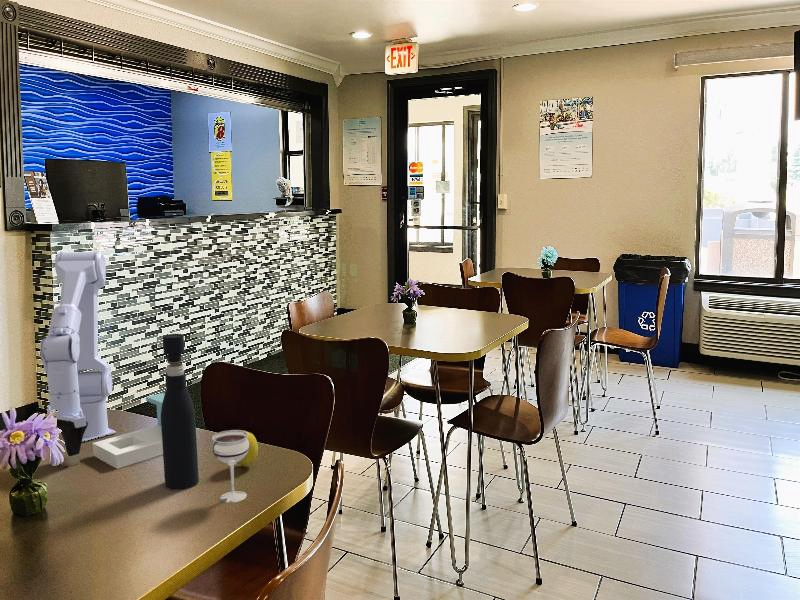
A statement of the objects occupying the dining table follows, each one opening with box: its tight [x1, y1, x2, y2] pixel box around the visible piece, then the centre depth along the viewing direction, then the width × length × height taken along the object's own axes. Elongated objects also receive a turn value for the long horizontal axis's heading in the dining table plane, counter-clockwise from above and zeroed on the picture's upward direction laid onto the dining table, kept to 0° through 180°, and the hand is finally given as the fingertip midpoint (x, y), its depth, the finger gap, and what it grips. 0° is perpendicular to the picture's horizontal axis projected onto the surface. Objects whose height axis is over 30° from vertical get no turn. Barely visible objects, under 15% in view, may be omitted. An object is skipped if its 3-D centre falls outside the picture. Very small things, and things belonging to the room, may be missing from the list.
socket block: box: [92, 392, 165, 470], centre depth 148 cm, size 11×17×10 cm, turn 139°
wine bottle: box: [161, 333, 200, 491], centre depth 129 cm, size 6×6×30 cm
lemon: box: [236, 430, 259, 468], centre depth 139 cm, size 6×6×8 cm
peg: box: [59, 433, 81, 467], centre depth 142 cm, size 4×4×8 cm
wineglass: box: [211, 429, 249, 504], centre depth 125 cm, size 7×7×12 cm
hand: (69, 452), depth 142 cm, fingers closed on peg, 4 cm apart
